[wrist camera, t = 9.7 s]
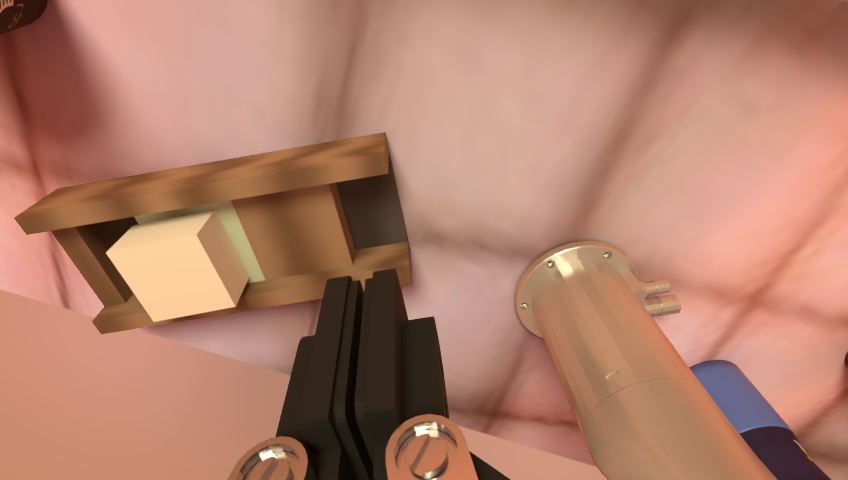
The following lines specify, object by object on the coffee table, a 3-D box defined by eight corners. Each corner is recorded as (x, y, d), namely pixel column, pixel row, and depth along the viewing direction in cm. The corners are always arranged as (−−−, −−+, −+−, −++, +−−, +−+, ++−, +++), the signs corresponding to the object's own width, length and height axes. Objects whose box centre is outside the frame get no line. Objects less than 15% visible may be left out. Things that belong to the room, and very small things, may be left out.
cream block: (215, 209, 36) (196, 234, 32) (249, 277, 39) (235, 306, 36) (132, 225, 36) (105, 252, 33) (174, 291, 40) (153, 322, 36)
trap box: (385, 132, 36) (384, 154, 32) (410, 252, 43) (412, 284, 38) (57, 188, 37) (14, 217, 33) (129, 298, 43) (101, 334, 39)
